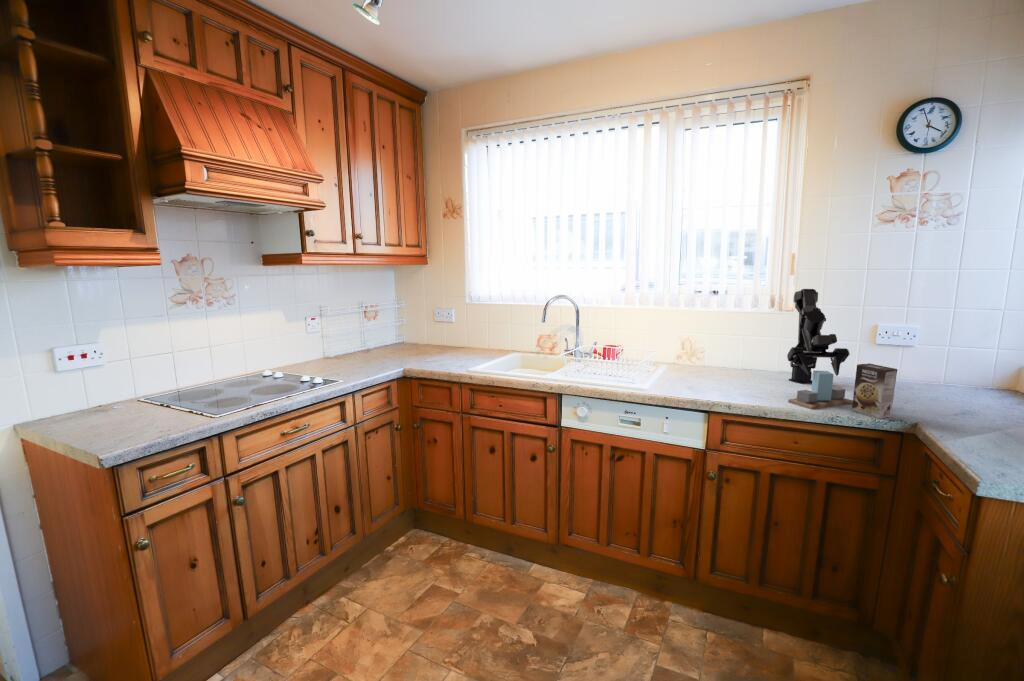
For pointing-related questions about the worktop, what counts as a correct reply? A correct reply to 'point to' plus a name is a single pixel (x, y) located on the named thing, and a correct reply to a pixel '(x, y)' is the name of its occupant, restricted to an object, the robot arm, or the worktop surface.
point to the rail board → (821, 403)
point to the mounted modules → (812, 396)
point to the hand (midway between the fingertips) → (823, 374)
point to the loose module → (822, 384)
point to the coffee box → (874, 390)
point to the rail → (819, 400)
